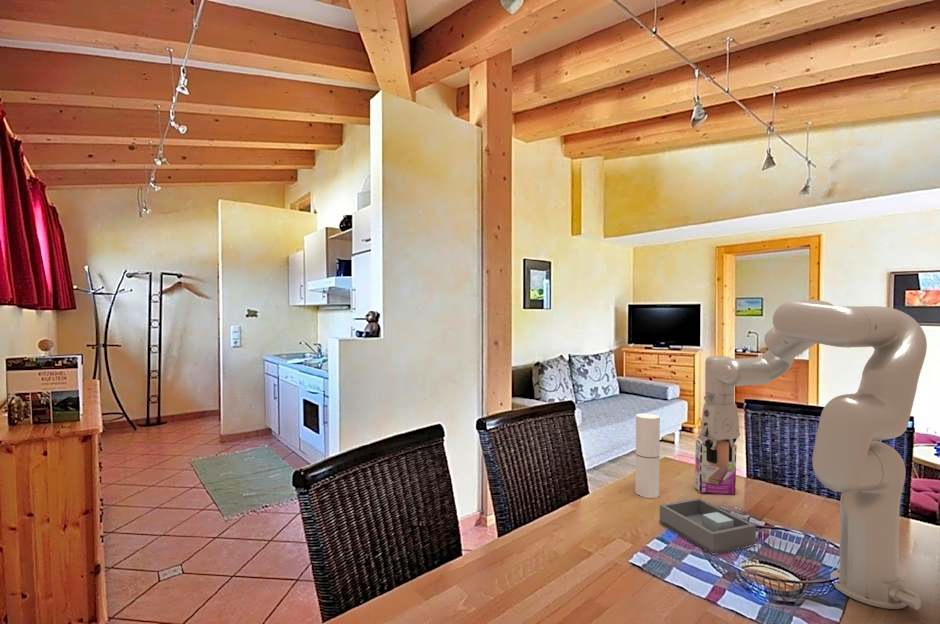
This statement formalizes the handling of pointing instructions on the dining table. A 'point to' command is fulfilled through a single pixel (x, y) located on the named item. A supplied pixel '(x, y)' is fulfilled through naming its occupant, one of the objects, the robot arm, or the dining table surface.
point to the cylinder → (722, 454)
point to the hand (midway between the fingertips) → (719, 460)
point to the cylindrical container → (647, 455)
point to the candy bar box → (714, 473)
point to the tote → (689, 525)
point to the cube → (716, 521)
